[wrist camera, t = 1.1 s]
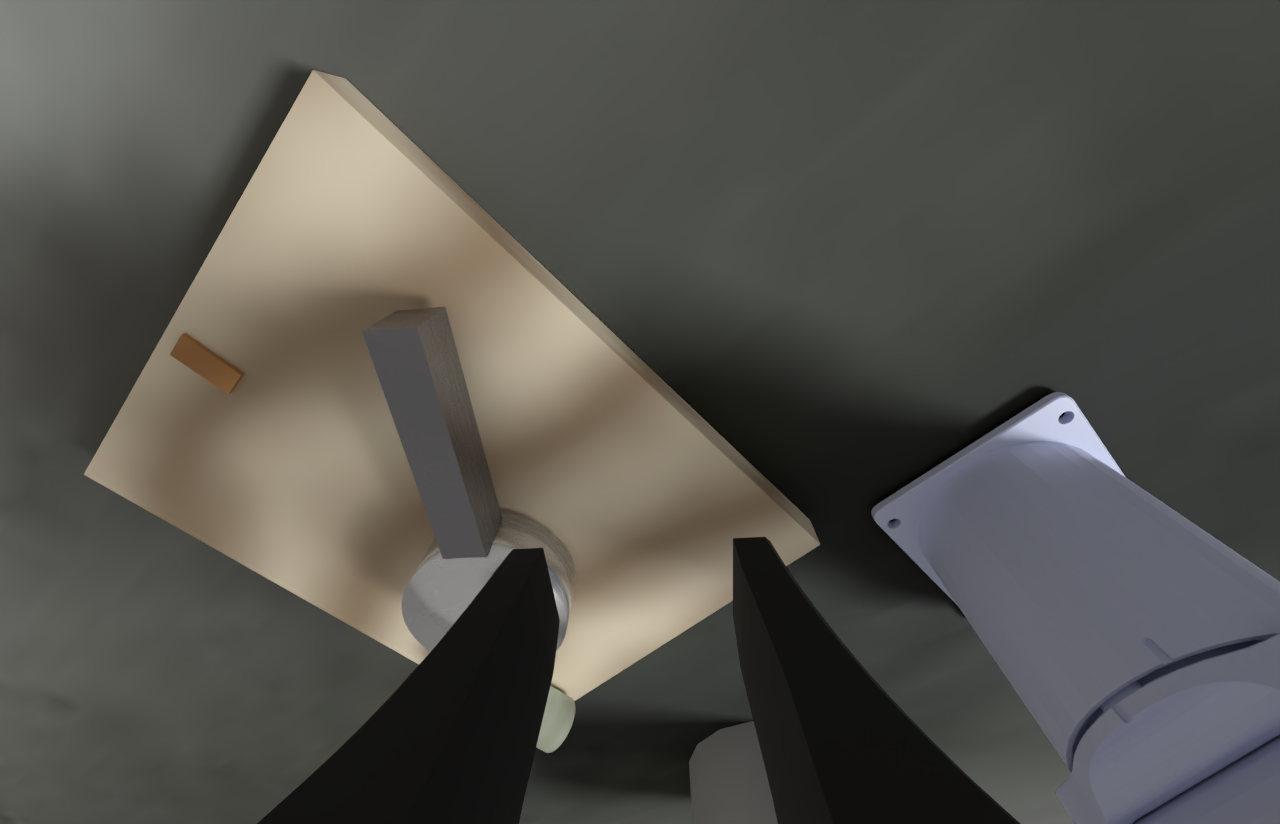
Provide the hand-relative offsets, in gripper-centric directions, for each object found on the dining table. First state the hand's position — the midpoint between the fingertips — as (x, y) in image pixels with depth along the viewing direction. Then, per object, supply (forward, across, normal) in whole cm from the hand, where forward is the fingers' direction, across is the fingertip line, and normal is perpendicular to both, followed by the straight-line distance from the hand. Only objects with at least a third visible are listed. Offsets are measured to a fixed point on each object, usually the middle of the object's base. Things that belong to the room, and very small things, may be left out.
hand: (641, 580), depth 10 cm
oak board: (+9, +8, +4) cm, 13 cm away
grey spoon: (+8, +6, +3) cm, 10 cm away
